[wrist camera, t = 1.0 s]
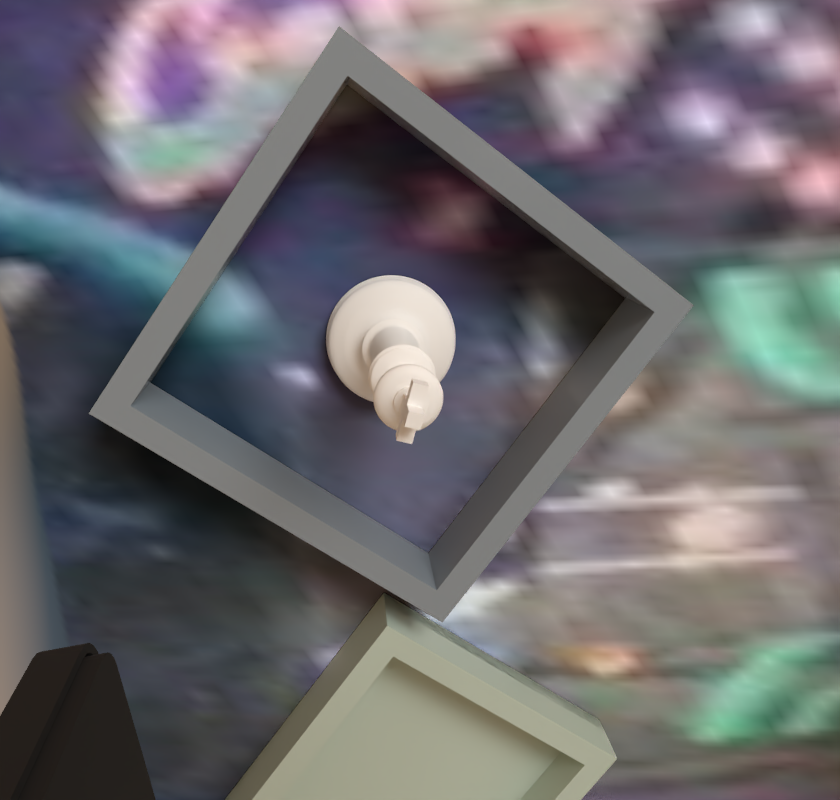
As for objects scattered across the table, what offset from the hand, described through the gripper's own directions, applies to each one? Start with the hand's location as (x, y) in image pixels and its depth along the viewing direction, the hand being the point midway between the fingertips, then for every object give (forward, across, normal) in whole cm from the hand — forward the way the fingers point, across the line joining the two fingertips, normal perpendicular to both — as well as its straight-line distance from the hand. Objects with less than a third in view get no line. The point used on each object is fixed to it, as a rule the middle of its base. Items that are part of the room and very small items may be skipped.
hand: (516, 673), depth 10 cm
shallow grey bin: (+22, 0, +1) cm, 22 cm away
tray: (+22, +3, +21) cm, 30 cm away
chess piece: (+22, 0, +1) cm, 22 cm away
